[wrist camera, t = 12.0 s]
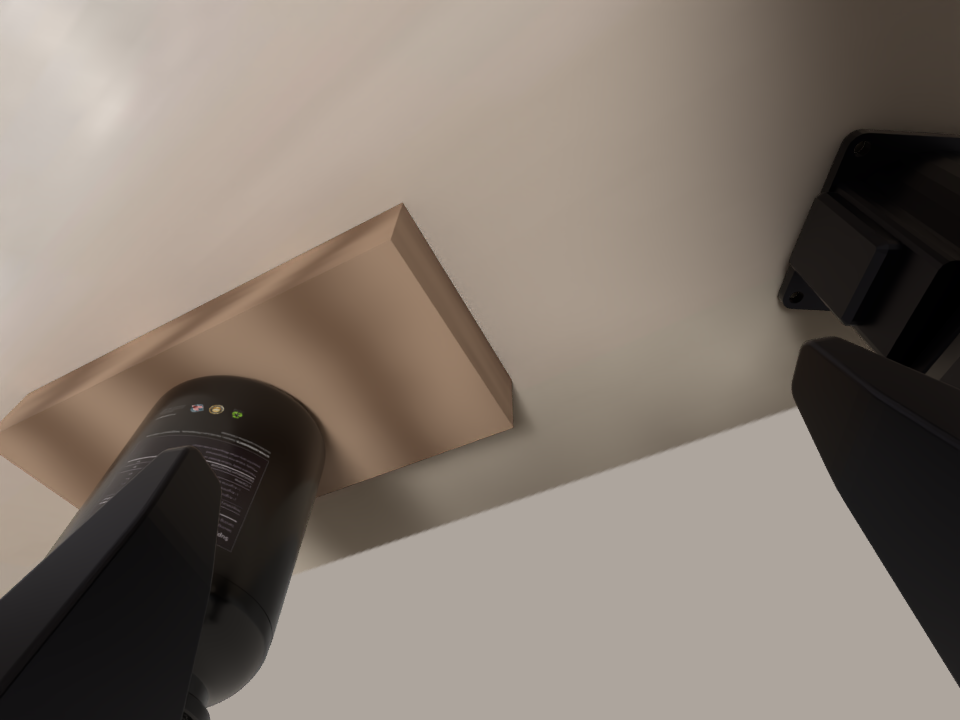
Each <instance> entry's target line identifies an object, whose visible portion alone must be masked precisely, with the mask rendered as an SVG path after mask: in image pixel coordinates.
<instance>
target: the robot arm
mask: <svg viewBox="0 0 960 720" xmlns="http://www.w3.org/2000/svg"><path fill="white" fill-rule="evenodd" d="M862 141H865V144H864V146H863V148H862V149H861V150H860V151H858V152H857V153H854V149H855V147H856V146H857V144H859V143H860V142H862ZM789 262H790V267H789V269H788V272H787V274H786V276H785V279H784V281H783V284H782V286H781V288H780V291H779V295H778V296H779V299H780V301H781V302H782V303H783V305H784V306H786V307H787V308H790V309H806V310H825V311H832V313H833V314H834V315H835V316H836V317H837V318H838V319H839V321H840V322H841V323H842V324H844V325H845V326H852V327H853V329H854V330H855V331H856V332H857V333H858V334H859V335H860V336H861V337H862V339H863V340H864V341H865V342H866V343H867V344H868V345H869V346H870V347H871V349H872V350H873V351H874V352H875V353H874V352H872V351H869V350H867V349H865V348H862V347H860V346H858V345H855V344H853V343H851V342H848V341H846V340H844V339H841V338H838V337H824V338H818V339H812V340H808V341H806V342H805V343H804V344H803V345H802V346H801V349H800V352H799V356H798V360H797V364H796V367H795V371H794V375H793V379H792V394H793V398H794V400H795V403H796V405H797V407H798V409H799V411H800V413H801V415H802V417H803V419H804V422H805V424H806V426H807V428H808V430H809V432H810V434H811V436H812V439H813V440H814V443H815V445H816V447H817V449H818V451H819V453H820V456H821V458H822V460H823V462H824V464H825V466H826V468H827V470H828V472H829V474H830V476H831V478H832V480H833V482H834V484H835V486H836V488H837V490H838V491H839V493H840V495H841V497H842V498H843V500H844V502H845V503H846V505H847V507H848V508H849V510H850V511H851V513H852V515H853V516H854V518H855V520H856V521H857V523H858V524H859V526H860V528H861V529H862V531H863V532H864V534H865V536H866V537H867V539H868V541H869V542H870V544H871V545H872V547H873V549H874V550H875V552H876V553H877V555H878V557H879V558H880V560H881V562H882V563H883V565H884V566H885V568H886V570H887V571H888V573H889V574H890V576H891V578H892V579H893V581H894V582H895V584H896V586H897V587H898V589H899V591H900V592H901V594H902V595H903V597H904V599H905V600H906V602H907V604H908V605H909V607H910V608H911V610H912V611H913V613H914V615H915V616H916V618H917V619H918V621H919V623H920V624H921V626H922V628H923V629H924V631H925V632H926V634H927V636H928V637H929V639H930V641H931V642H932V644H933V645H934V647H935V649H936V650H937V652H938V654H939V655H940V657H941V658H942V660H943V662H944V663H945V665H946V666H947V668H948V670H949V671H950V673H951V675H952V676H953V678H954V679H955V681H956V682H957V684H958V686H959V687H960V135H958V134H940V133H922V132H905V131H887V130H869V129H861V130H856V131H854V132H852V133H850V134H849V135H848V136H847V137H846V138H845V139H844V140H843V142H842V144H841V146H840V148H839V150H838V153H837V155H836V157H835V160H834V162H833V165H832V167H831V169H830V172H829V174H828V176H827V179H826V181H825V184H824V186H823V188H822V191H821V193H820V194H819V195H818V196H817V197H816V198H815V200H814V202H813V204H812V207H811V209H810V212H809V214H808V216H807V219H806V221H805V224H804V226H803V228H802V231H801V233H800V236H799V238H798V240H797V243H796V245H795V248H794V250H793V252H792V255H791V257H790V260H789ZM795 292H799V293H798V294H797V295H796V296H795V297H792V298H790V296H791V295H792V294H793V293H795ZM221 497H222V490H221V484H220V481H219V479H218V477H217V476H216V474H215V473H214V471H213V470H212V468H211V467H210V466H209V464H208V463H207V461H206V460H205V458H204V457H203V455H202V454H201V452H200V451H199V450H198V449H197V448H196V447H194V446H189V445H188V446H182V447H176V448H170V449H167V450H164V451H162V452H161V453H160V454H159V455H158V456H157V457H155V458H154V459H153V460H152V461H151V462H150V463H149V464H148V465H147V466H146V467H145V468H143V469H142V470H141V471H140V472H139V473H138V474H137V475H136V476H135V477H134V478H132V479H131V480H130V481H129V482H128V483H127V484H126V485H125V486H124V487H123V488H122V489H120V490H119V491H118V492H117V493H116V494H115V495H114V496H113V497H112V498H111V499H109V500H108V501H107V502H106V503H105V504H104V505H103V506H102V507H101V508H100V509H99V510H97V511H96V512H95V513H94V514H93V515H92V516H91V517H90V518H89V519H88V520H86V521H85V522H84V523H83V524H82V525H81V526H80V527H79V528H78V529H77V530H76V531H74V532H73V533H72V534H71V535H70V536H69V537H68V538H67V539H66V540H65V541H63V542H62V543H61V544H60V545H59V546H58V547H57V548H56V549H55V550H54V551H53V552H51V553H50V554H49V555H48V556H47V557H46V558H45V559H44V560H43V561H42V562H40V563H39V564H38V565H37V566H36V567H35V568H34V569H33V570H32V571H31V572H29V573H28V574H27V575H26V576H25V577H24V578H23V579H22V580H21V581H20V582H19V583H17V584H16V585H15V586H14V587H13V588H12V589H11V590H10V591H9V592H8V593H6V594H5V595H4V596H3V597H2V598H1V599H0V720H182V716H183V711H184V707H185V702H186V698H187V693H188V689H189V685H190V680H191V676H192V671H193V667H194V662H195V658H196V654H197V649H198V645H199V640H200V636H201V631H202V627H203V623H204V618H205V614H206V609H207V605H208V600H209V595H210V590H211V583H212V576H213V568H214V559H215V550H216V542H217V533H218V524H219V515H220V506H221Z"/></svg>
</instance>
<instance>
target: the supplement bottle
mask: <svg viewBox="0 0 960 720" xmlns="http://www.w3.org/2000/svg"><path fill="white" fill-rule="evenodd" d="M188 445H189V446H194V447H196V448H197V449H198V450H199V451H200V452H201V454H202V455H203V457H204V458H205V460H206V461H207V463H208V464H209V466H210V467H211V468H212V470H213V471H214V473H215V474H216V476H217V477H218V479H219V481H220V484H221V490H222V497H221V506H220V515H219V524H218V533H217V542H216V550H215V559H214V568H213V576H212V583H211V590H210V595H209V600H208V605H207V609H206V614H205V618H204V623H203V627H202V631H201V636H200V640H199V645H198V649H197V654H196V658H195V662H194V667H193V671H192V676H191V680H190V685H189V689H188V693H187V698H186V702H185V707H184V711H183V716H182V720H210V716H209V713H208V711H207V709H206V708H207V707H210V706H213V705H215V704H217V703H220V702H222V701H224V700H225V699H228V698H229V697H231V696H232V695H234V694H235V693H237V692H238V691H239V690H241V689H242V688H243V687H244V686H245V685H246V684H247V683H248V682H249V681H250V680H251V679H252V678H253V677H254V676H255V674H256V673H257V672H258V671H259V669H260V668H261V666H262V664H263V663H264V661H265V659H266V656H267V653H268V650H269V647H270V645H271V642H272V639H273V636H274V632H275V629H276V626H277V623H278V619H279V616H280V613H281V609H282V606H283V603H284V599H285V596H286V593H287V589H288V586H289V583H290V579H291V576H292V573H293V570H294V566H295V563H296V560H297V556H298V553H299V550H300V547H301V543H302V540H303V537H304V533H305V530H306V527H307V523H308V520H309V517H310V513H311V510H312V507H313V504H314V500H315V497H316V494H317V490H318V487H319V484H320V479H321V476H322V473H323V469H324V464H325V458H326V450H325V443H324V439H323V436H322V433H321V431H320V429H319V427H318V425H317V423H316V422H315V420H314V419H313V417H312V416H311V415H310V414H309V412H308V411H307V410H306V409H305V408H304V407H303V406H302V405H301V404H300V403H299V402H297V401H296V400H295V399H293V398H292V397H291V396H289V395H288V394H286V393H284V392H283V391H281V390H279V389H277V388H275V387H273V386H271V385H269V384H266V383H263V382H261V381H257V380H254V379H250V378H246V377H240V376H233V375H212V376H204V377H198V378H195V379H191V380H188V381H185V382H183V383H180V384H179V385H177V386H175V387H173V388H172V389H170V390H169V391H167V392H166V393H165V394H164V395H163V396H162V397H161V398H160V399H159V400H158V401H157V403H156V404H155V405H154V406H153V408H152V409H151V410H150V412H149V413H148V414H147V416H146V417H145V418H144V420H143V421H142V423H141V424H140V425H139V427H138V428H137V430H136V431H135V432H134V434H133V435H132V437H131V438H130V439H129V441H128V442H127V444H126V445H125V446H124V448H123V449H122V451H121V452H120V453H119V455H118V456H117V458H116V459H115V460H114V462H113V463H112V465H111V466H110V467H109V469H108V470H107V472H106V473H105V474H104V476H103V477H102V479H101V480H100V481H99V483H98V484H97V485H96V487H95V488H94V490H93V491H92V492H91V494H90V495H89V497H88V498H87V499H86V501H85V502H84V504H83V505H82V506H81V508H80V509H79V511H78V512H77V513H76V515H75V516H74V518H73V519H72V520H71V522H70V523H69V525H68V526H67V527H66V529H65V530H64V532H63V533H62V534H61V536H60V537H59V539H58V540H57V541H56V543H55V544H54V546H53V547H52V548H51V550H50V551H49V553H48V554H47V555H46V557H47V556H48V555H49V554H50V553H51V552H53V551H54V550H55V549H56V548H57V547H58V546H59V545H60V544H61V543H62V542H63V541H65V540H66V539H67V538H68V537H69V536H70V535H71V534H72V533H73V532H74V531H76V530H77V529H78V528H79V527H80V526H81V525H82V524H83V523H84V522H85V521H86V520H88V519H89V518H90V517H91V516H92V515H93V514H94V513H95V512H96V511H97V510H99V509H100V508H101V507H102V506H103V505H104V504H105V503H106V502H107V501H108V500H109V499H111V498H112V497H113V496H114V495H115V494H116V493H117V492H118V491H119V490H120V489H122V488H123V487H124V486H125V485H126V484H127V483H128V482H129V481H130V480H131V479H132V478H134V477H135V476H136V475H137V474H138V473H139V472H140V471H141V470H142V469H143V468H145V467H146V466H147V465H148V464H149V463H150V462H151V461H152V460H153V459H154V458H155V457H157V456H158V455H159V454H160V453H161V452H162V451H164V450H167V449H170V448H176V447H182V446H188ZM46 557H45V558H46ZM45 558H44V559H45Z"/></svg>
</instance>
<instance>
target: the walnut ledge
mask: <svg viewBox="0 0 960 720" xmlns="http://www.w3.org/2000/svg"><path fill="white" fill-rule="evenodd" d="M212 375H233V376H240V377H246V378H250V379H254V380H257V381H261V382H263V383H266V384H269V385H271V386H273V387H275V388H277V389H279V390H281V391H283V392H284V393H286V394H288V395H289V396H291V397H292V398H293V399H295V400H296V401H297V402H299V403H300V404H301V405H302V406H303V407H304V408H305V409H306V410H307V411H308V412H309V414H310V415H311V416H312V417H313V419H314V420H315V422H316V423H317V425H318V427H319V429H320V431H321V433H322V436H323V439H324V443H325V450H326V458H325V464H324V469H323V473H322V476H321V479H320V484H319V487H318V490H317V494H316V497H315V498H317V497H319V496H322V495H325V494H328V493H331V492H333V491H336V490H339V489H342V488H345V487H348V486H350V485H353V484H356V483H359V482H362V481H365V480H367V479H370V478H373V477H376V476H379V475H381V474H384V473H387V472H390V471H393V470H396V469H398V468H401V467H404V466H407V465H410V464H412V463H415V462H418V461H421V460H424V459H427V458H429V457H432V456H435V455H438V454H441V453H444V452H446V451H449V450H452V449H455V448H458V447H460V446H463V445H466V444H469V443H472V442H475V441H477V440H480V439H483V438H486V437H489V436H491V435H494V434H497V433H500V432H503V431H506V430H508V429H511V428H513V404H512V381H511V378H510V377H509V375H508V373H507V372H506V370H505V369H504V367H503V365H502V364H501V362H500V360H499V359H498V357H497V355H496V354H495V352H494V351H493V349H492V347H491V346H490V344H489V342H488V341H487V339H486V338H485V336H484V334H483V333H482V331H481V329H480V328H479V326H478V325H477V323H476V321H475V320H474V318H473V316H472V315H471V313H470V312H469V310H468V308H467V307H466V305H465V303H464V302H463V300H462V299H461V297H460V295H459V294H458V292H457V290H456V289H455V287H454V286H453V284H452V282H451V281H450V279H449V277H448V276H447V274H446V273H445V271H444V269H443V268H442V266H441V264H440V263H439V261H438V259H437V258H436V256H435V255H434V253H433V251H432V250H431V248H430V246H429V245H428V243H427V242H426V240H425V238H424V237H423V235H422V233H421V232H420V230H419V229H418V227H417V225H416V224H415V222H414V220H413V219H412V217H411V216H410V214H409V212H408V211H407V209H406V207H405V206H404V204H403V203H401V204H399V205H397V206H395V207H393V208H391V209H389V210H387V211H385V212H383V213H381V214H380V215H378V216H376V217H374V218H372V219H370V220H368V221H366V222H364V223H362V224H360V225H358V226H356V227H354V228H352V229H350V230H348V231H346V232H344V233H342V234H340V235H338V236H336V237H335V238H333V239H331V240H329V241H327V242H325V243H323V244H321V245H319V246H317V247H315V248H313V249H311V250H309V251H307V252H305V253H303V254H301V255H299V256H297V257H295V258H293V259H291V260H289V261H288V262H286V263H284V264H282V265H280V266H278V267H276V268H274V269H272V270H270V271H268V272H266V273H264V274H262V275H260V276H258V277H256V278H254V279H252V280H250V281H248V282H246V283H244V284H243V285H241V286H239V287H237V288H235V289H233V290H231V291H229V292H227V293H225V294H223V295H221V296H219V297H217V298H215V299H213V300H211V301H209V302H207V303H205V304H203V305H201V306H199V307H197V308H196V309H194V310H192V311H190V312H188V313H186V314H184V315H182V316H180V317H178V318H176V319H174V320H172V321H170V322H168V323H166V324H164V325H162V326H160V327H158V328H156V329H154V330H152V331H151V332H149V333H147V334H145V335H143V336H141V337H139V338H137V339H135V340H133V341H131V342H129V343H127V344H125V345H123V346H121V347H119V348H117V349H115V350H113V351H111V352H109V353H107V354H105V355H104V356H102V357H100V358H98V359H96V360H94V361H92V362H90V363H88V364H86V365H84V366H82V367H80V368H78V369H76V370H74V371H72V372H70V373H68V374H66V375H64V376H62V377H60V378H59V379H57V380H55V381H53V382H51V383H49V384H47V385H45V386H43V387H41V388H39V389H37V390H35V391H33V392H31V393H29V394H28V395H27V396H26V397H25V398H24V399H23V400H22V401H21V402H20V403H19V404H18V405H17V406H16V407H15V408H14V409H13V410H12V411H11V412H10V413H9V414H8V415H7V416H6V417H5V418H4V419H3V420H2V421H1V422H0V455H1V456H3V457H4V458H6V459H7V460H9V461H10V462H12V463H13V464H14V465H16V466H17V467H19V468H20V469H22V470H23V471H24V472H26V473H27V474H29V475H30V476H32V477H33V478H35V479H36V480H37V481H39V482H40V483H42V484H43V485H45V486H46V487H48V488H49V489H50V490H52V491H53V492H55V493H56V494H58V495H59V496H61V497H62V498H63V499H65V500H66V501H68V502H69V503H71V504H72V505H73V506H75V507H76V508H78V509H80V508H81V506H82V505H83V504H84V502H85V501H86V499H87V498H88V497H89V495H90V494H91V492H92V491H93V490H94V488H95V487H96V485H97V484H98V483H99V481H100V480H101V479H102V477H103V476H104V474H105V473H106V472H107V470H108V469H109V467H110V466H111V465H112V463H113V462H114V460H115V459H116V458H117V456H118V455H119V453H120V452H121V451H122V449H123V448H124V446H125V445H126V444H127V442H128V441H129V439H130V438H131V437H132V435H133V434H134V432H135V431H136V430H137V428H138V427H139V425H140V424H141V423H142V421H143V420H144V418H145V417H146V416H147V414H148V413H149V412H150V410H151V409H152V408H153V406H154V405H155V404H156V403H157V401H158V400H159V399H160V398H161V397H162V396H163V395H164V394H165V393H166V392H167V391H169V390H170V389H172V388H173V387H175V386H177V385H179V384H180V383H183V382H185V381H188V380H191V379H195V378H198V377H204V376H212Z"/></svg>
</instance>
